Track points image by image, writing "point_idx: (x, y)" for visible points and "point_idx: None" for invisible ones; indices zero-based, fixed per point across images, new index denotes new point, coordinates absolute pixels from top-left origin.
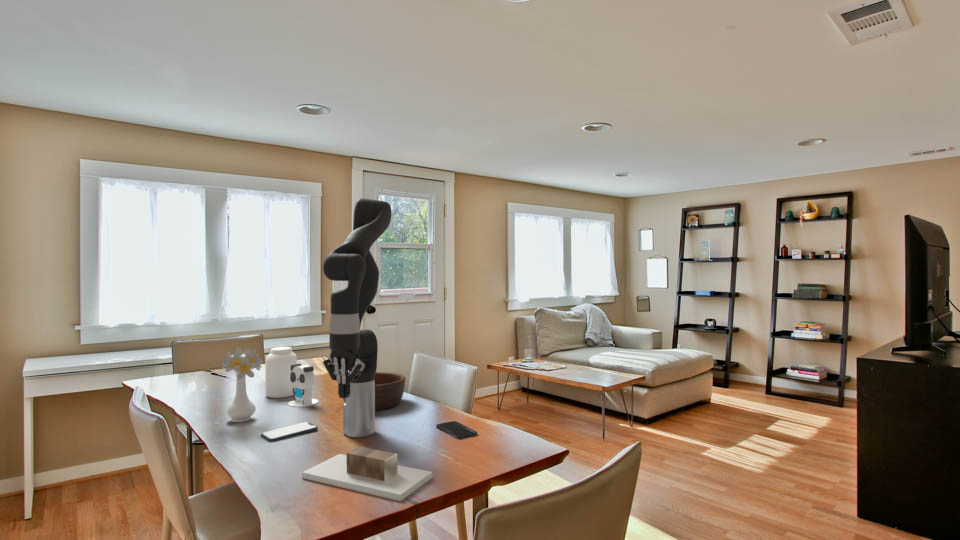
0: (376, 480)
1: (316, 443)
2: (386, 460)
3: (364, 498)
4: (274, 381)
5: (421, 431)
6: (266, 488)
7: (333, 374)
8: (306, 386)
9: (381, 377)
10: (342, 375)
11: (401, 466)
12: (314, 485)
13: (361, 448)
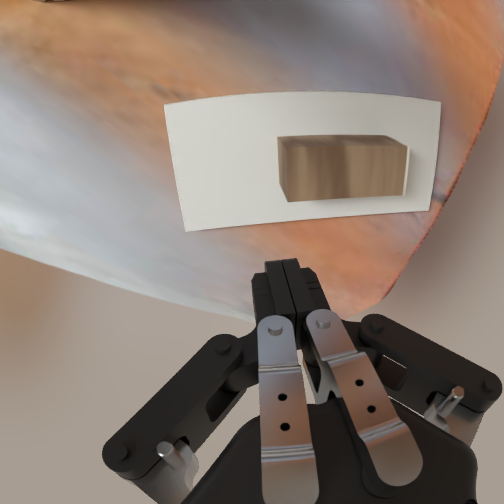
0: None
1: (35, 81)
2: (404, 190)
3: (365, 225)
4: None
5: None
6: (173, 282)
7: (233, 405)
8: None
9: None
10: (317, 397)
11: (373, 97)
12: (239, 233)
13: (301, 156)
